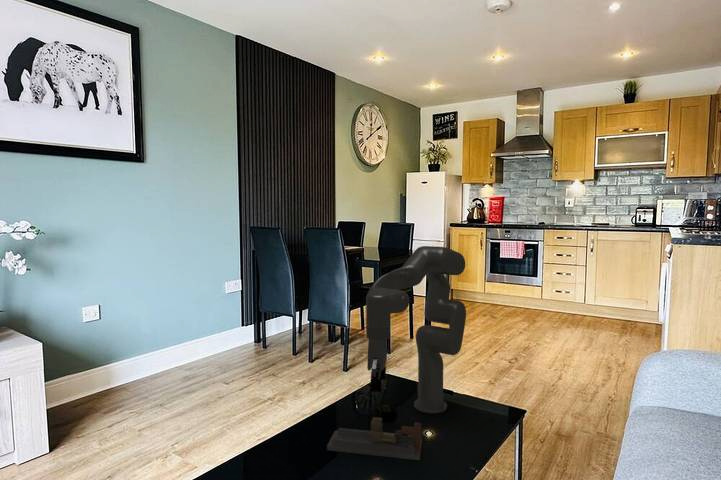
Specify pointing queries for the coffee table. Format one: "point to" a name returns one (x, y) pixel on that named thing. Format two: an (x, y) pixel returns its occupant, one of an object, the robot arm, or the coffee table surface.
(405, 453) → the rail
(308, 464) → the coffee table surface
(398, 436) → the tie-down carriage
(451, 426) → the coffee table surface
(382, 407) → the tape measure
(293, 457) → the coffee table surface
